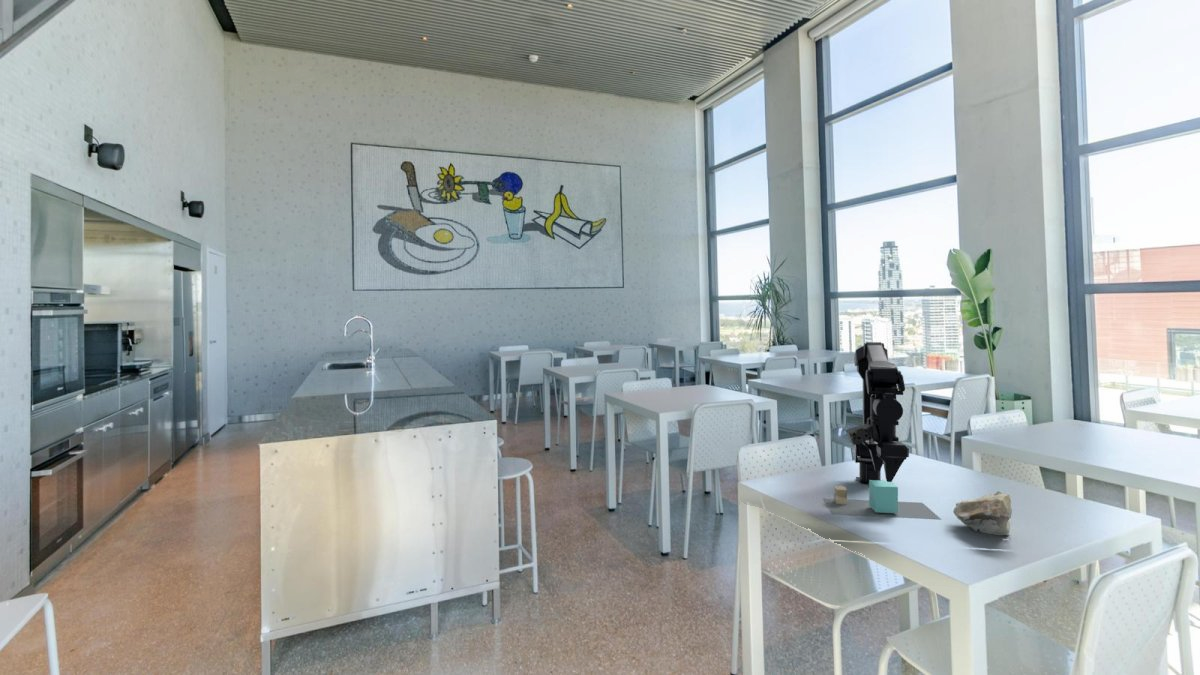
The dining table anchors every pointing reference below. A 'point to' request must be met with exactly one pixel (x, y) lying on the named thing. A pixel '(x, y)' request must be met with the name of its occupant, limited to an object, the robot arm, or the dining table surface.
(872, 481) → the teal rectangular block
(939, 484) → the dining table surface
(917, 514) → the mat
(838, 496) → the tan block
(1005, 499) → the stone
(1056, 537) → the dining table surface
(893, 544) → the dining table surface
